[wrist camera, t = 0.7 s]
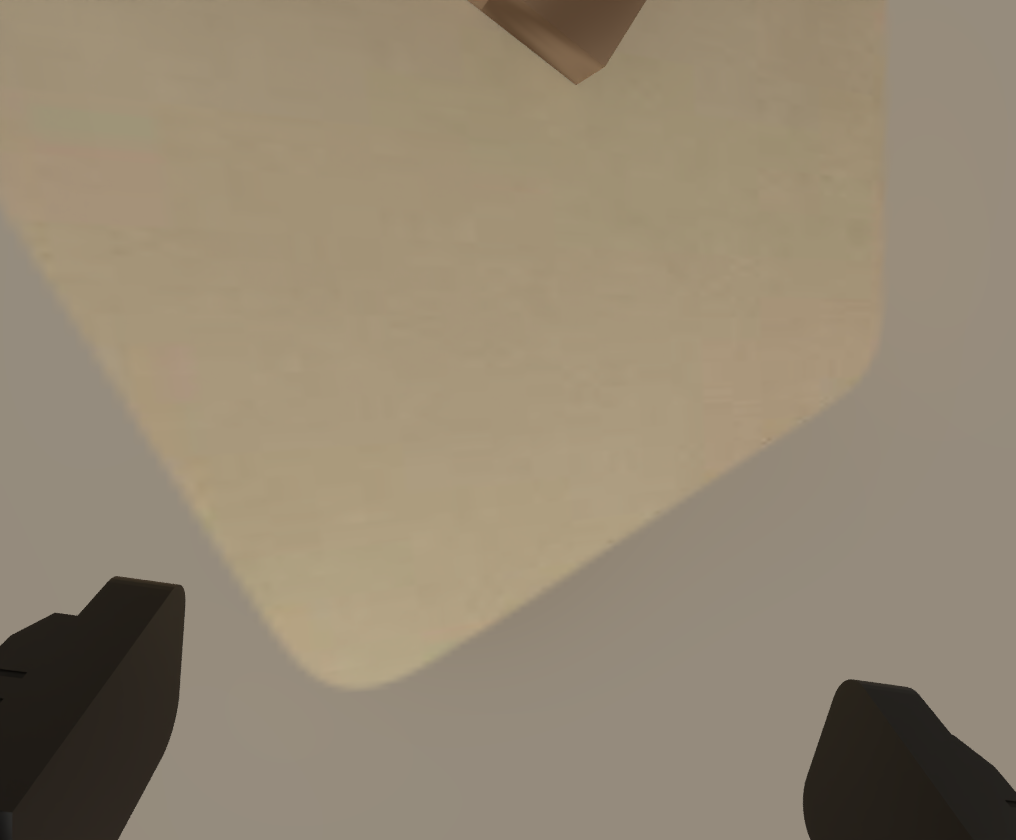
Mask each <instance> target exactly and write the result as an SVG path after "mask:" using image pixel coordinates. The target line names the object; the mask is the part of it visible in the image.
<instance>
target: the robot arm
mask: <svg viewBox="0 0 1016 840" xmlns="http://www.w3.org/2000/svg"><path fill="white" fill-rule="evenodd" d="M184 617H185V592H184V588H183V587H182V586H181V585H177V584H170V583H162V582H155V581H148V580H141V579H134V578H127V577H118V576H116V577H113V578H111V579H110V580H109V581H108V582H107V583H106V585H105V586H104V587H103V588H102V589H101V590H100V591H99V592H98V594H97V595H96V596H95V597H94V598H93V599H92V600H91V601H90V602H89V604H88V605H87V606H86V607H85V608H84V609H83V610H82V611H81V613H80V614H79V615H78V616H75V615H68V614H60V613H54V614H52V615H50V616H48V617H46V618H44V619H42V620H40V621H38V622H36V623H34V624H32V625H30V626H28V627H27V628H24V629H23V630H21V631H19V632H17V633H15V634H13V635H11V636H10V637H9V638H8V639H7V640H6V641H5V642H4V643H3V644H2V645H1V646H0V840H118V839H119V836H120V835H121V833H122V831H123V829H124V827H125V825H126V824H127V821H128V820H129V818H130V815H131V814H132V812H133V811H134V809H135V807H136V805H137V803H138V801H139V799H140V797H141V796H142V794H143V792H144V790H145V788H146V786H147V784H148V782H149V781H150V779H151V777H152V775H153V773H154V771H155V770H156V768H157V766H158V764H159V762H160V760H161V758H162V756H163V754H164V752H165V750H166V747H167V745H168V742H169V739H170V736H171V733H172V730H173V726H174V722H175V718H176V713H177V708H178V701H179V690H180V675H181V661H182V645H183V631H184ZM803 811H804V820H805V824H806V828H807V832H808V834H809V837H810V839H811V840H1016V792H1015V791H1014V789H1013V788H1012V787H1011V786H1010V785H1009V783H1008V782H1007V781H1006V780H1005V779H1004V777H1003V776H1002V775H1001V774H1000V773H999V772H998V770H997V769H996V768H995V767H994V766H993V765H991V764H990V763H989V762H987V761H986V760H985V759H984V758H982V757H981V756H980V755H978V754H977V753H976V752H975V751H973V750H972V749H971V748H969V747H968V746H967V745H966V744H964V743H963V742H962V741H960V740H959V739H958V738H957V737H955V736H954V735H951V733H950V732H949V731H948V730H947V729H946V727H945V726H944V725H943V724H942V723H941V721H940V720H939V719H938V717H937V716H936V715H935V714H934V712H933V711H932V710H931V709H930V708H929V706H928V705H927V704H926V703H925V701H924V700H923V699H922V698H921V697H920V695H919V694H918V693H917V692H916V691H914V690H913V689H911V688H908V687H902V686H895V685H888V684H881V683H874V682H867V681H860V680H846V681H844V682H843V683H842V684H841V685H840V686H839V688H838V689H837V691H836V693H835V696H834V698H833V701H832V704H831V707H830V710H829V713H828V716H827V719H826V722H825V725H824V728H823V731H822V733H821V736H820V739H819V742H818V746H817V748H816V751H815V754H814V757H813V760H812V763H811V766H810V769H809V772H808V775H807V778H806V781H805V786H804V793H803Z"/></svg>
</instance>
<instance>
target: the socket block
mask: <svg viewBox="0 0 1016 840" xmlns="http://www.w3.org/2000/svg"><path fill="white" fill-rule="evenodd" d="M468 1H469V2H471V3H472V4H473V5H474V6H476V7H477V8H478V9H479V10H481V11H482V12H483V13H485V14H486V15H487V16H488V17H490V18H491V19H492V20H494V21H495V22H496V23H497V24H499V25H500V26H501V27H503V28H504V29H505V30H506V31H508V32H509V33H510V34H511V35H513V36H514V37H515V38H517V39H518V40H519V41H520V42H522V43H523V44H524V45H526V46H527V47H528V48H529V49H531V50H532V51H533V52H535V53H536V54H537V55H538V56H540V57H541V58H542V59H543V60H545V61H546V62H547V63H549V64H550V65H551V66H552V67H554V68H555V69H556V70H558V71H559V72H560V73H561V74H563V75H564V76H565V77H567V78H568V79H569V80H570V81H572V82H573V83H574V84H575V85H577V84H578V83H580V82H582V81H583V80H585V79H586V78H588V77H589V76H591V75H592V74H594V73H596V72H597V71H599V70H600V69H602V68H603V67H605V66H606V64H607V62H608V61H609V59H610V58H611V56H612V54H613V53H614V51H615V50H616V48H617V46H618V45H619V43H620V42H621V40H622V38H623V37H624V35H625V33H626V32H627V30H628V29H629V27H630V25H631V24H632V22H633V21H634V19H635V17H636V16H637V14H638V13H639V11H640V9H641V8H642V6H643V5H644V3H645V1H646V0H468Z"/></svg>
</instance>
